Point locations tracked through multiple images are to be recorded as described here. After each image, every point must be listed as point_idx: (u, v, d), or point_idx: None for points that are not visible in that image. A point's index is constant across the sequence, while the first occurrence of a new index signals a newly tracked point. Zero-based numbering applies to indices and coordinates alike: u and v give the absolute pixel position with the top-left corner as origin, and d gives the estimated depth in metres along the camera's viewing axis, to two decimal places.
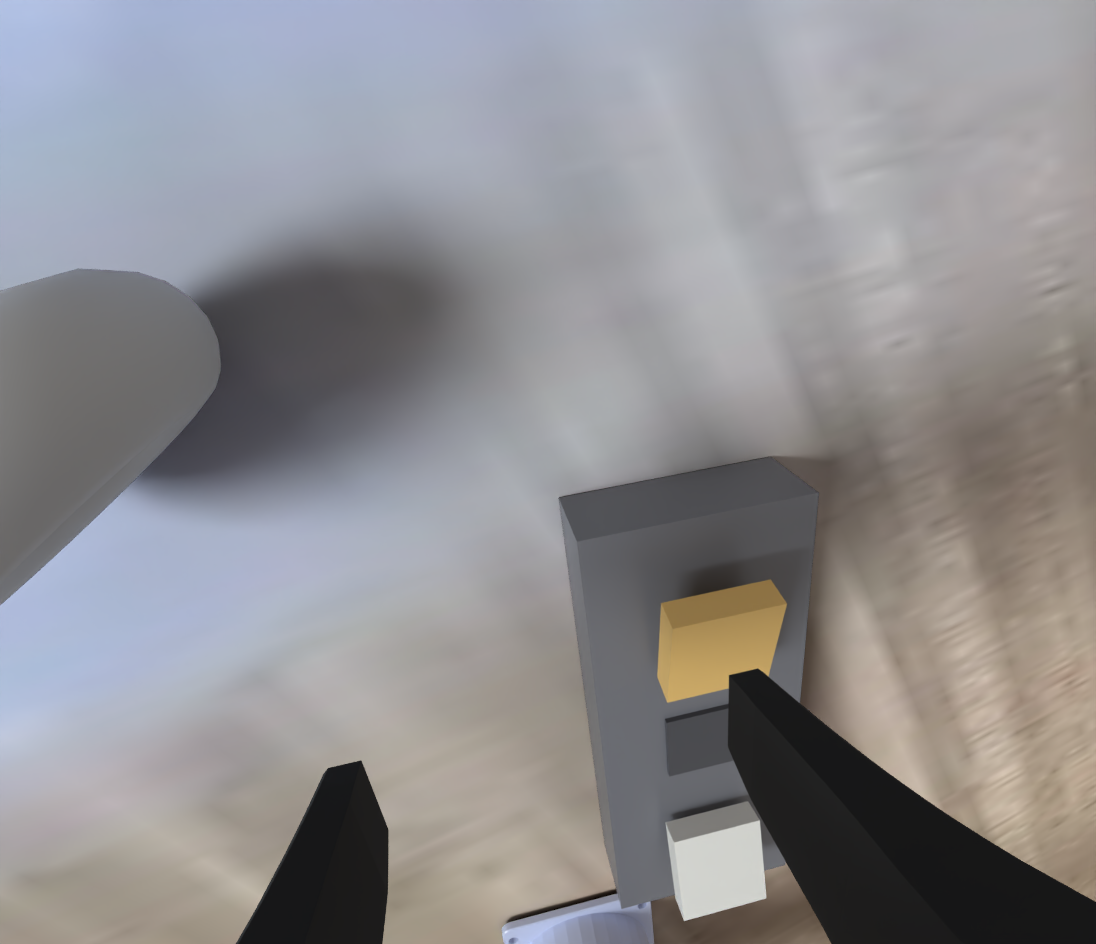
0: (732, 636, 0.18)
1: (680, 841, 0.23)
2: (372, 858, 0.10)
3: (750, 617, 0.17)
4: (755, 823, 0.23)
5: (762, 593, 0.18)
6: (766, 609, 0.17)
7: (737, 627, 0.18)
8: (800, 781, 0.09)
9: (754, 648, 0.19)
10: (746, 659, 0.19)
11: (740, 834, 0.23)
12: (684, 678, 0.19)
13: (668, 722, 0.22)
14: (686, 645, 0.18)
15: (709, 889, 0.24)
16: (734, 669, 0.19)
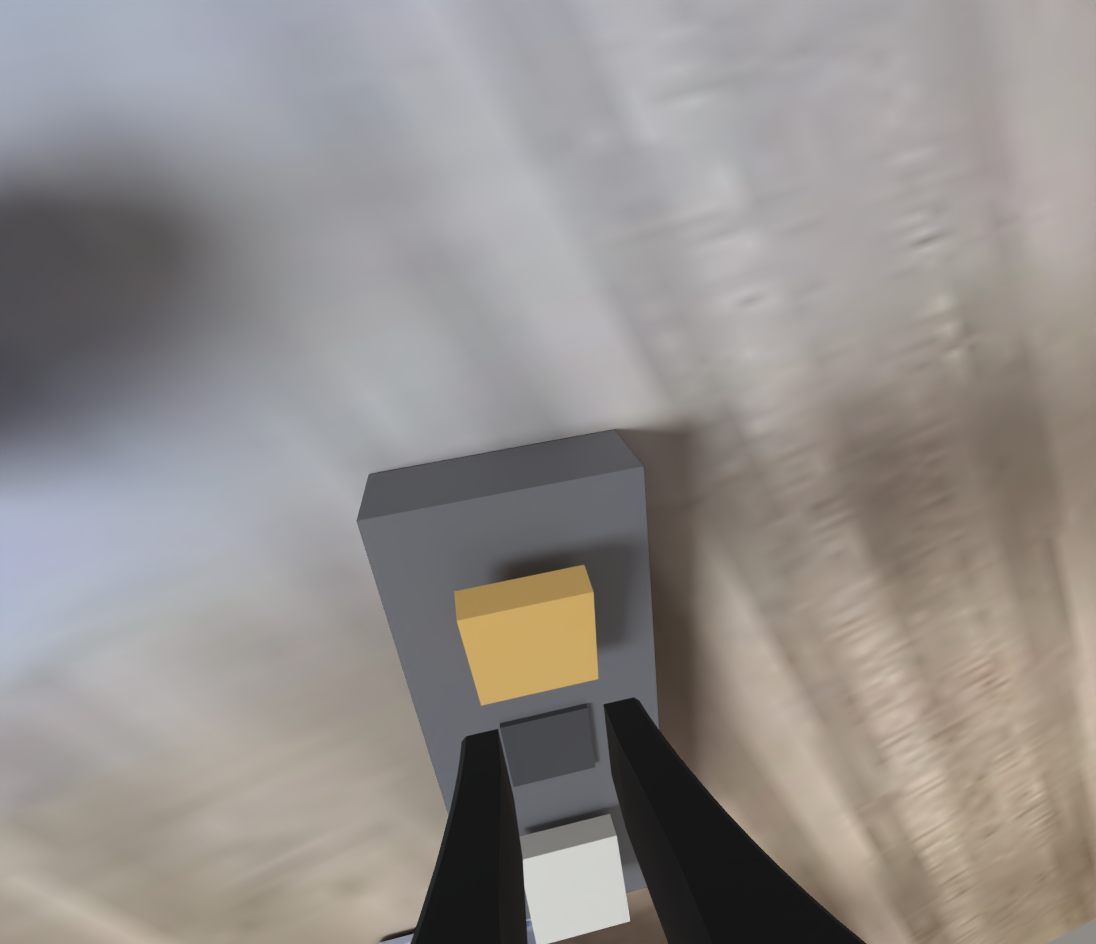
0: (536, 629, 0.16)
1: (526, 859, 0.21)
2: (513, 823, 0.10)
3: (551, 608, 0.15)
4: (612, 839, 0.21)
5: (569, 580, 0.15)
6: (570, 598, 0.15)
7: (539, 619, 0.15)
8: (648, 820, 0.09)
9: (570, 644, 0.16)
10: (564, 656, 0.17)
11: (595, 851, 0.21)
12: (493, 678, 0.16)
13: (502, 727, 0.19)
14: (481, 640, 0.15)
15: (563, 912, 0.21)
16: (552, 667, 0.17)
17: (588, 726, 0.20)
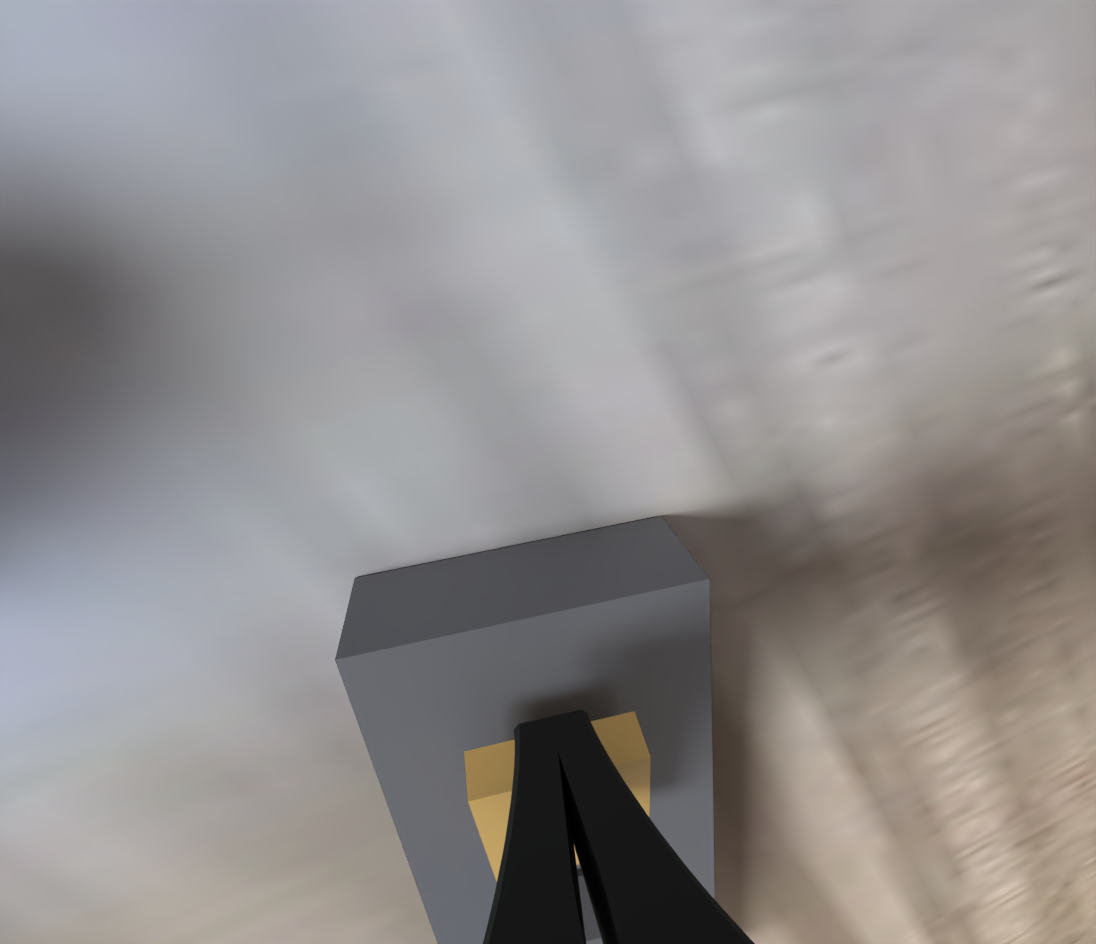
0: None
1: None
2: (567, 809, 0.10)
3: None
4: None
5: (617, 736, 0.12)
6: (619, 765, 0.11)
7: None
8: (583, 836, 0.09)
9: None
10: None
11: None
12: None
13: None
14: (500, 819, 0.12)
15: None
16: None
17: None
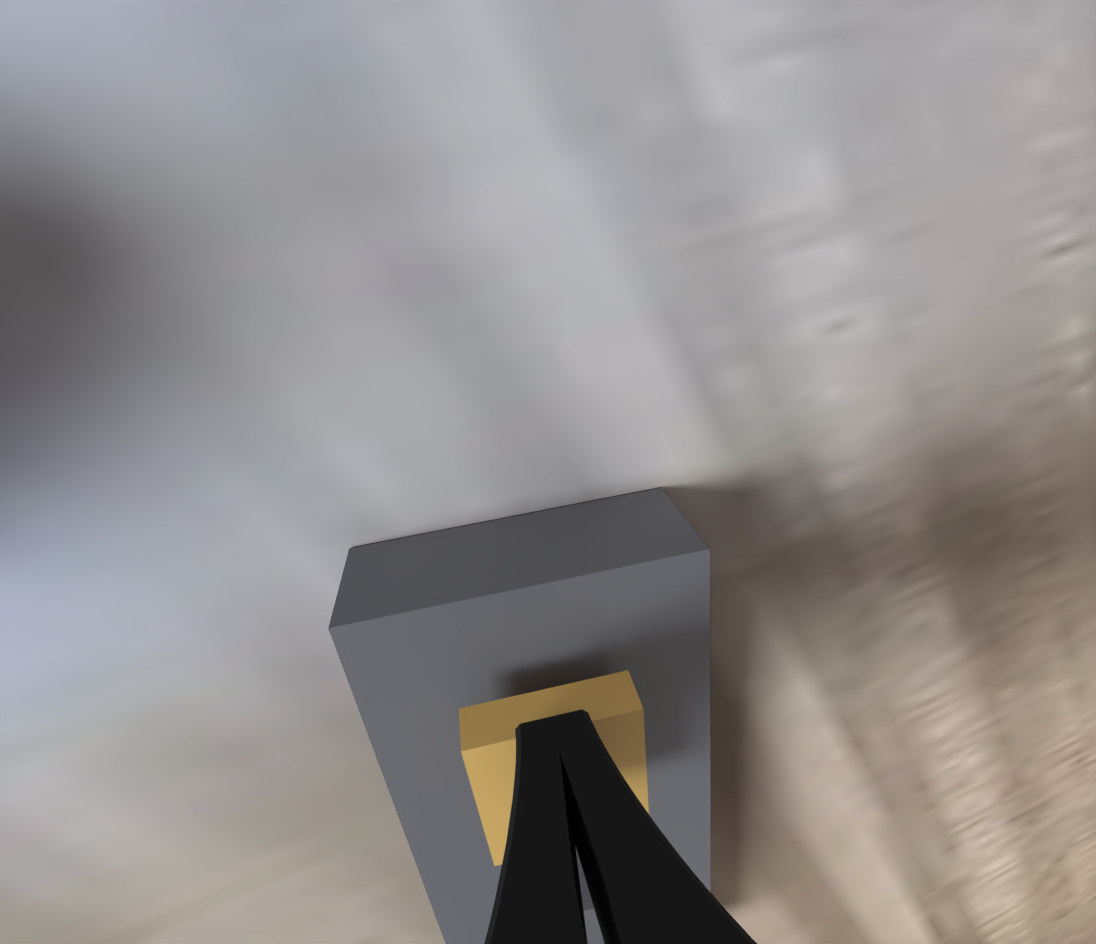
0: None
1: None
2: (568, 809, 0.10)
3: None
4: None
5: (610, 692, 0.12)
6: (612, 718, 0.11)
7: None
8: (585, 836, 0.09)
9: None
10: None
11: None
12: None
13: None
14: (494, 777, 0.11)
15: None
16: None
17: None
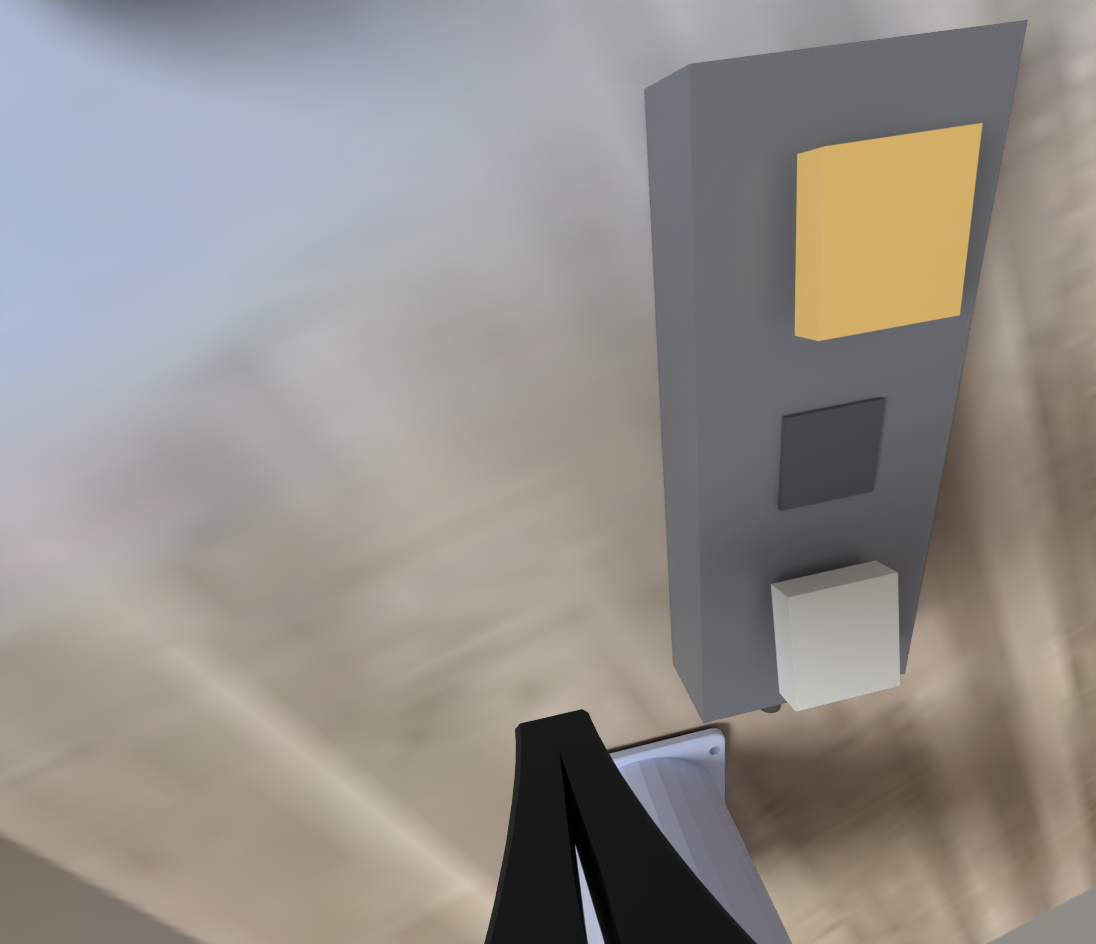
0: (908, 188, 0.12)
1: (795, 597, 0.17)
2: (568, 809, 0.10)
3: (931, 145, 0.12)
4: (892, 576, 0.18)
5: None
6: (953, 133, 0.12)
7: (914, 166, 0.12)
8: (585, 836, 0.09)
9: (940, 229, 0.13)
10: (929, 253, 0.13)
11: (872, 591, 0.18)
12: (842, 283, 0.13)
13: (788, 417, 0.16)
14: (844, 195, 0.12)
15: (829, 668, 0.18)
16: (913, 275, 0.13)
17: (878, 429, 0.17)
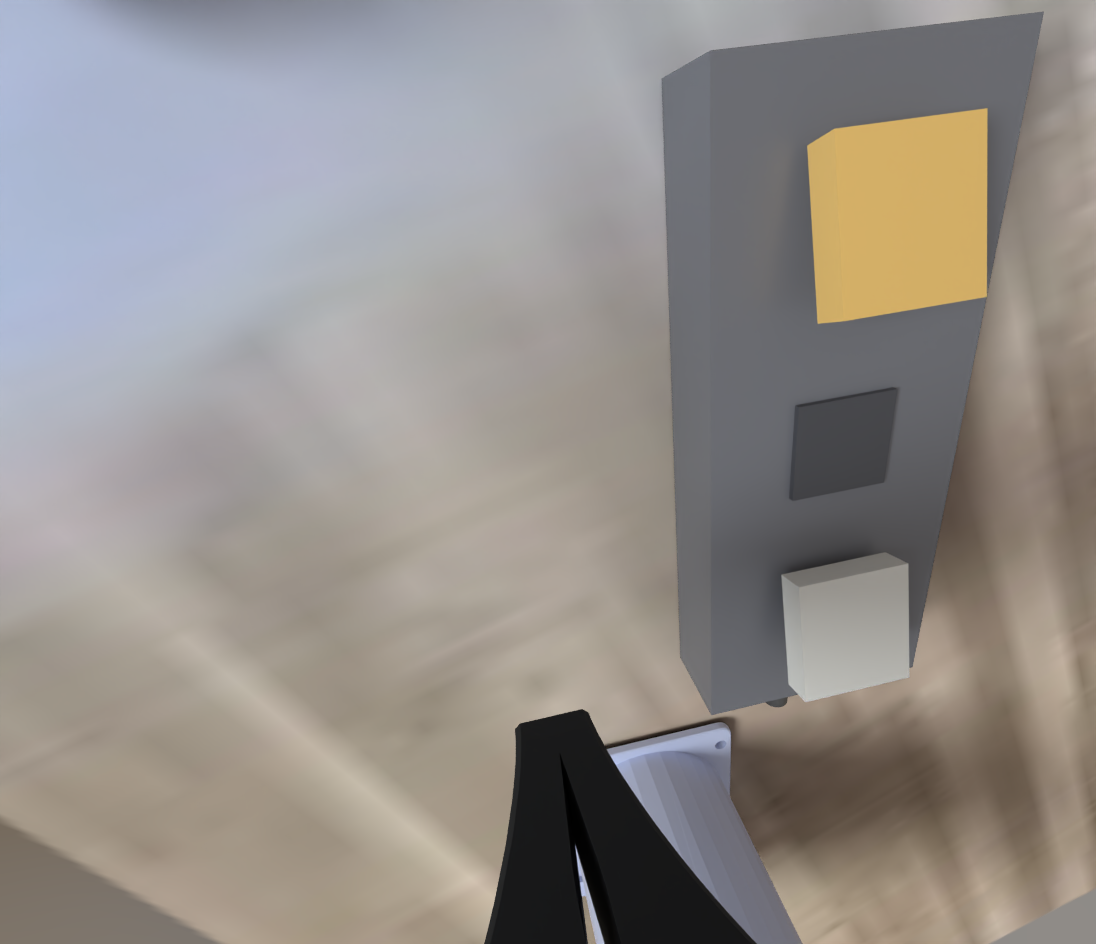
0: (920, 169, 0.13)
1: (806, 587, 0.17)
2: (568, 809, 0.10)
3: (939, 128, 0.13)
4: (902, 567, 0.18)
5: None
6: (960, 118, 0.13)
7: (925, 148, 0.13)
8: (585, 836, 0.09)
9: (956, 210, 0.13)
10: (948, 233, 0.13)
11: (882, 582, 0.18)
12: (863, 262, 0.13)
13: (801, 407, 0.16)
14: (857, 175, 0.12)
15: (839, 659, 0.18)
16: (934, 255, 0.13)
17: (890, 419, 0.17)
